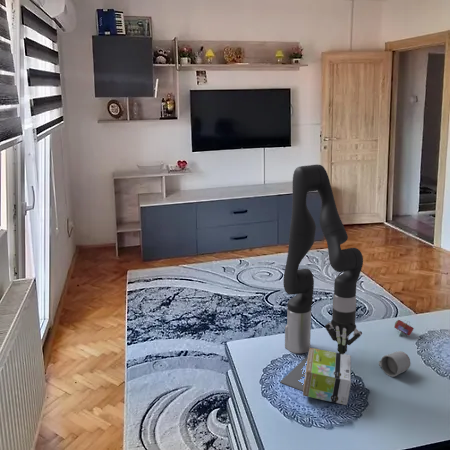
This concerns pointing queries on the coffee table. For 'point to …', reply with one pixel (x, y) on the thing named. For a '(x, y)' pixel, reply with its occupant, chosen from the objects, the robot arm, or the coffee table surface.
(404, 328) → the geometric puzzle
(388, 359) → the ceramic mug
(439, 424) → the coffee table surface
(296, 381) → the mat
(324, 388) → the tea box
